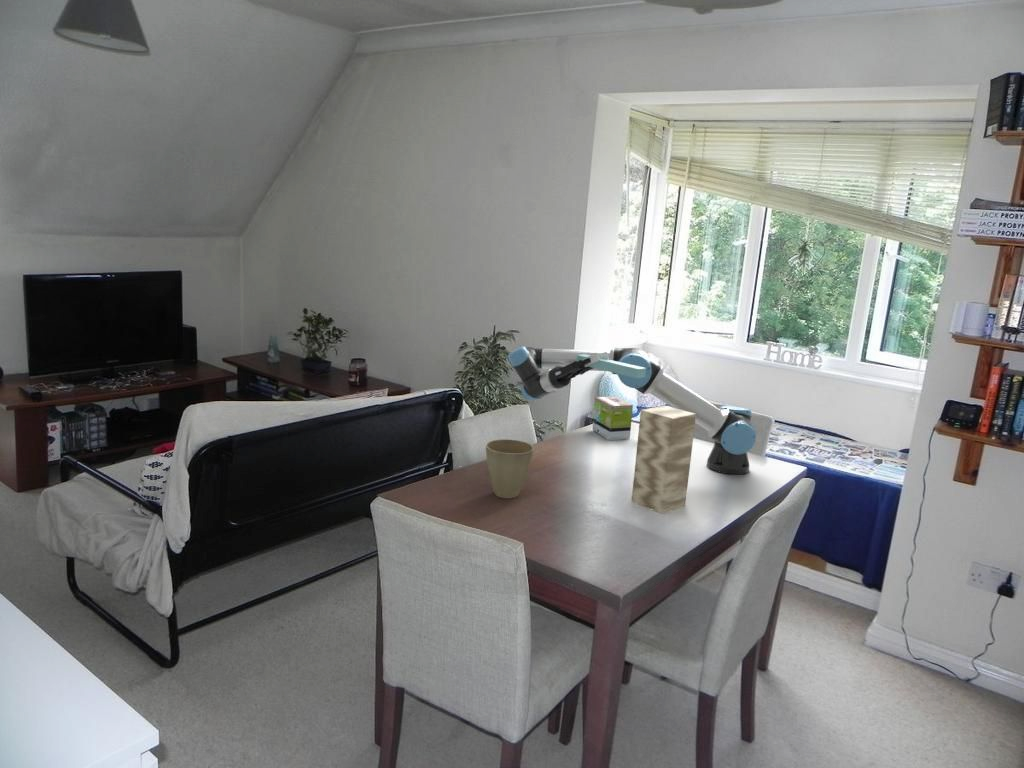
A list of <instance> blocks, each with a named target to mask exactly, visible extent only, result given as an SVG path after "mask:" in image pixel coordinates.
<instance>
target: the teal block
mask: <svg viewBox="0 0 1024 768" xmlns="http://www.w3.org/2000/svg"><path fill="white" fill-rule="evenodd" d="M588 356H590V355H586V354H581V355H577V360H576V361H577V362H578V361H579V360H582V361H583V359H584V358H586V357H588ZM599 358H600V357H599ZM584 366H585V365H584ZM588 367H592V368H596V369H600V370H604V371H603V372H608V373H611V372H613V373H617V374H616V375H618V374H621V375H625V376H629V377H633V378H644V377H645V374H646V368H644V367H639V366H635V365H631V364H626V363H622V362H617V361H613V360H608V359H604V358H600V361H598V362H595V363H593V364H591V365H589V366H588Z"/></svg>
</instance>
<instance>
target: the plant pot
mask: <svg viewBox="0 0 1024 768" xmlns="http://www.w3.org/2000/svg"><path fill="white" fill-rule="evenodd" d="M533 453H534V446H533V445H532V444H531V443H529V442H526V441H522V440H519V439H517V440H516V439H508V438H507V439H506V438H504V439H502V438H501V439H494V440H491V441H487V442H486V444H485V454H486V463H487V468H488V469H487V470H488V474H489V477H490V478H489V479H490V483H491V487H492V490H493V492H494V495H495V496H496V497H499V498H501V499H513V498H517V497H518V496H519V494H520V492H521V489H522V487H523V485H524V483H525V481H526V478H527V475H528V471H529V469H530V466H531V461H532V457H533Z"/></svg>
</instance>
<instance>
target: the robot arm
mask: <svg viewBox="0 0 1024 768" xmlns="http://www.w3.org/2000/svg"><path fill="white" fill-rule="evenodd" d="M581 354H586V355H590V356H588V357H586V358H584V359H583V361H582V360H579V361H578V362H577V361H576V360H577V355H581ZM599 357H600V358H604V359H608V360H613V361H617V362H622V363H626V364H631V365H635V366H639V367H644V368H646V374H645V377H644V378H633V377H629V376H625V375H621V374H617V373H613V372H610V373H611V374H612V375H617V377H618V379H619V380H620V382H621V383H622V384H623V385H624V386H626V387H629V388H632V389H635V390H637V391H638V392H639V393H641V394H643V395H646V394H651V395H652V396H654V397H655V398H657V399H658V400H660V401H662V402H663V403H665V404H666V405H668V407H672V408H676V409H680V410H684V411H687V412H691V413H695V414H696V418H695V424H697V425H698V426H700V427H701V428H703V429H705V430H706V431H707V433H708V437H709V438H710V439H712V440H713V441H714V444H713V447H712V449H711V452H710V453H709V456H708V457H707V460H706V466H708V467H707V468H708V469H710V468H711V470H712V469H713V471H714V470H716V472H718V471H720V472H719V473H721V472H724V473H723V474H727V473H731V474H730V475H744V474H743V473H745V474H747V472H748V471H750V461H749V456H748V452H749V451H751V450H752V449H753V447H754V446H755V444H756V440H757V434H756V430H755V428H754V427H753V425H752V424H751V418H752V410H750V409H749V408H746V407H745V408H744V407H737V406H729V405H723V406H720V407H718V406H716V405H714V404H713V403H711V402H710V401H709V400H707V399H705V398H703V397H702V396H700V394H698V393H696V392H695V391H693V390H691V389H690V388H688V387H687V386H685V385H683V384H682V383H681V382H679V381H677V380H676V379H674V378H673V377H671V376H670V375H668V374H666V373H665V372H664V369H663V366H662V365H660V364H659V363H658V362H656V361H655V360H653V359H651V357H650V355H649V354H648V353H647V352H646V351H645V350H643V349H641V348H639V347H619V348H618V347H613V348H612V349H611V350H602V349H601V350H595V349H568V348H567V349H565V348H540V347H539V348H538V347H534V346H524V345H523V346H520V347H518V348H517V349H514V350H513V351H511V353H509V354H508V355H507V359H508V360H509V362H510V365H511V366H512V368H513V369H514V371H515V372H516V374H517V375H518V377H519V379H520V380H521V382H522V384H521V387H520V391H521V395H522V396H523V398H524V399H526V400H527V401H530V402H533V401H536V400H539V399H542V398H544V397H546V396H547V395H550V394H551V393H552V394H555V393H556V391H558V390H560V389H562V388H564V387H567V386H568V385H569V384H570V383H571V379H573V378H576V377H577V376H582V375H584V374H585V373H588V372H589V371H591V372H592V371H594V372H595V371H596V372H605V371H604V370H600V369H596V368H592V367H588V366H589V365H591V364H593V363H595V362H598V361H600V358H599ZM584 365H585V366H584ZM540 369H541V370H542V369H545V370H546V371H545V372H543V373H542V372H541V370H540ZM748 473H749V472H748Z"/></svg>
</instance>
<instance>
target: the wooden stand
mask: <svg viewBox="0 0 1024 768" xmlns="http://www.w3.org/2000/svg"><path fill="white" fill-rule="evenodd" d="M695 418H696V414H695V413H691V412H687V411H684V410H680V409H676V408H672V407H671V406H669V405H668V406H667V405H659V406H654V407H649V408H643V409H640V413H639V424H638V433H637V434H638V436H637V444H636V453H635V454H636V455H635V465H634V473H633V481H632V493H631V494H632V495H631V503H634V504H636V505H638V506H641V507H644V508H647V509H648V510H651V509H652V511H654V512H656V511H657V513H659V514H663V515H664V514H665V513H669V512H671V510H672V511H675V510H677V508H678V509H680V508H683V507H685V506H686V502H687V494H688V485H689V477H690V469H691V461H692V452H693V445H694V444H693V441H694V434H695V425H696V423H695Z"/></svg>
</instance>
